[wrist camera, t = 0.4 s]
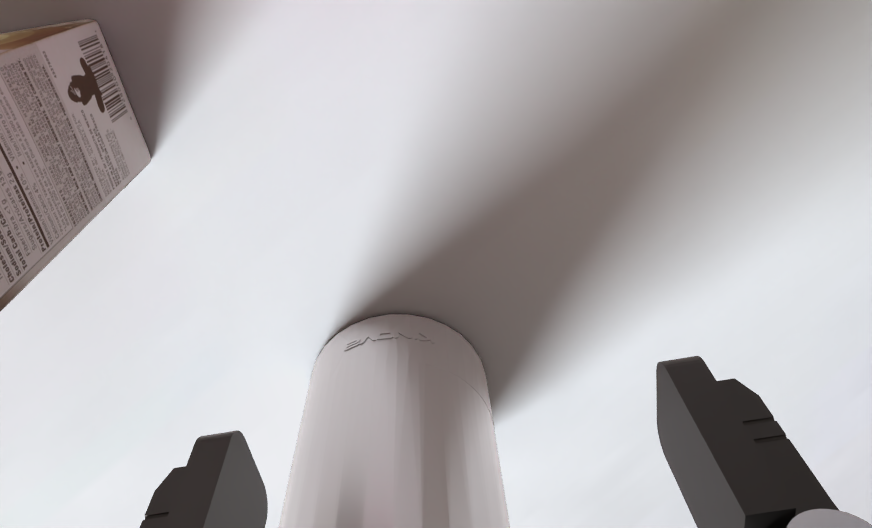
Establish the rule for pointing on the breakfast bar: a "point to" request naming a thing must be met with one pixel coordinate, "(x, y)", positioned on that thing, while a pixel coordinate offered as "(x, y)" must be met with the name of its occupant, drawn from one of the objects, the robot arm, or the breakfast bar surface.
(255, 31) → the breakfast bar surface
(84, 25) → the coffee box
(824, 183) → the breakfast bar surface
